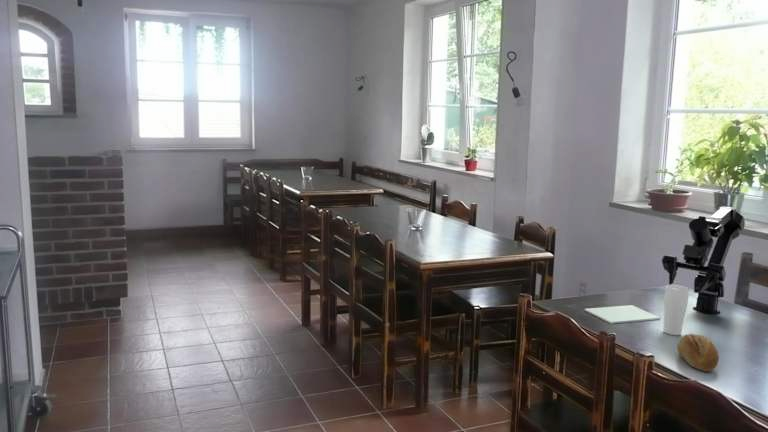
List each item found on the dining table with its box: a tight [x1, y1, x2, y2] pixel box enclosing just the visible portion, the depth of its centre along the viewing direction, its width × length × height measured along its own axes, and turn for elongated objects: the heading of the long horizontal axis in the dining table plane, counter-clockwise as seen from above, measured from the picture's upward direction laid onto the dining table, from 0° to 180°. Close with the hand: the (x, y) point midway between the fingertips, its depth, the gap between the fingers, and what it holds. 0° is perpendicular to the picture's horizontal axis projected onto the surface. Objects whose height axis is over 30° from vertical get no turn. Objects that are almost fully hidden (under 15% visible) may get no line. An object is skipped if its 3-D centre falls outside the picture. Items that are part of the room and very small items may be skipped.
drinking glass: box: [662, 284, 690, 336], centre depth 205 cm, size 7×7×15 cm
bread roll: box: [676, 333, 720, 372], centre depth 181 cm, size 10×15×8 cm, turn 176°
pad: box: [583, 304, 661, 325], centre depth 222 cm, size 20×14×1 cm
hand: (684, 288), depth 209 cm, fingers open, 9 cm apart
